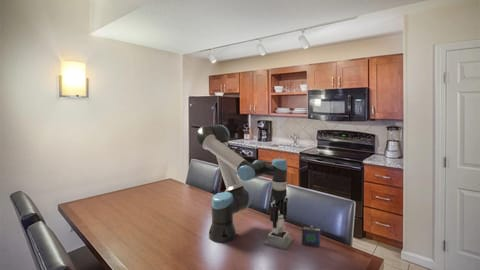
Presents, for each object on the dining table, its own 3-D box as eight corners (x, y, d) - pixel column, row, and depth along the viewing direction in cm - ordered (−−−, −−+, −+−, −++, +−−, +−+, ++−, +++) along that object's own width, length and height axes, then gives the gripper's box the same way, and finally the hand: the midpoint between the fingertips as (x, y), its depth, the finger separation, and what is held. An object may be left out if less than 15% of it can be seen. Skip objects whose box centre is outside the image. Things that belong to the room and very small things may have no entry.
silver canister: (279, 243, 136) (280, 217, 135) (271, 240, 140) (272, 214, 138) (284, 240, 140) (285, 214, 139) (277, 236, 143) (277, 212, 142)
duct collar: (263, 244, 137) (263, 235, 137) (271, 235, 148) (272, 226, 148) (285, 250, 132) (285, 241, 131) (292, 240, 142) (292, 231, 142)
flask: (319, 245, 137) (320, 225, 136) (320, 247, 134) (320, 227, 133) (301, 243, 139) (302, 223, 138) (301, 245, 136) (302, 226, 135)
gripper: (275, 194, 128) (274, 239, 130) (294, 186, 141) (293, 228, 143) (263, 190, 133) (262, 234, 136) (282, 183, 146) (282, 224, 148)
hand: (278, 231), depth 139 cm, fingers closed on silver canister, 5 cm apart
